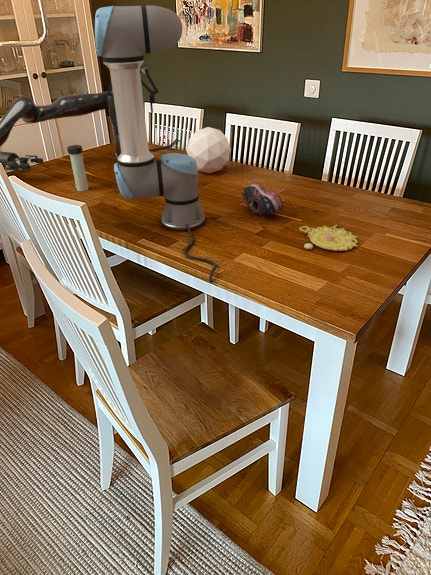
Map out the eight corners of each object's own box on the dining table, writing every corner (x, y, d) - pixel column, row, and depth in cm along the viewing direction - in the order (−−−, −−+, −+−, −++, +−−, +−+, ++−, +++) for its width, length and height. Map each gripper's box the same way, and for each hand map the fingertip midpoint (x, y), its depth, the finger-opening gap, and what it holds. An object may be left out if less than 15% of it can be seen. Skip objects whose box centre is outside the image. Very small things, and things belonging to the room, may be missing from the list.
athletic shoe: (254, 181, 170) (227, 189, 167) (283, 176, 151) (253, 185, 147) (260, 210, 173) (234, 218, 170) (290, 209, 154) (261, 219, 150)
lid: (85, 151, 179) (84, 145, 178) (75, 154, 175) (73, 149, 174) (75, 149, 182) (74, 144, 181) (65, 153, 178) (63, 147, 177)
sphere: (214, 188, 203) (213, 162, 184) (180, 167, 207) (175, 139, 188) (238, 160, 207) (239, 131, 189) (204, 140, 212) (202, 110, 193)
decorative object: (343, 255, 128) (285, 234, 139) (342, 262, 130) (284, 241, 140) (372, 230, 142) (317, 213, 152) (371, 237, 143) (316, 219, 153)
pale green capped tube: (90, 188, 188) (83, 147, 178) (82, 192, 184) (74, 150, 175) (82, 186, 190) (74, 145, 181) (74, 190, 187) (65, 148, 177)
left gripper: (19, 164, 200) (48, 167, 195) (-4, 174, 189) (27, 177, 184) (14, 148, 196) (45, 150, 191) (-9, 156, 185) (22, 159, 180)
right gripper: (160, 52, 174) (165, 109, 185) (95, 55, 171) (104, 113, 182) (161, 54, 167) (166, 113, 179) (94, 56, 165) (103, 116, 176)
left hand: (36, 164), depth 188 cm, fingers open, 8 cm apart
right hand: (135, 113), depth 181 cm, fingers open, 13 cm apart
